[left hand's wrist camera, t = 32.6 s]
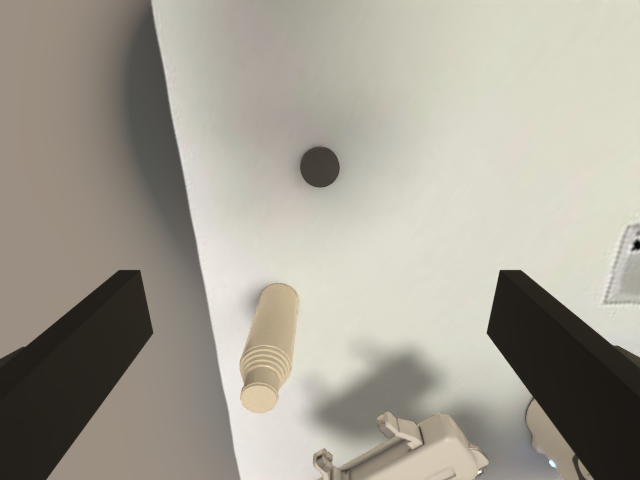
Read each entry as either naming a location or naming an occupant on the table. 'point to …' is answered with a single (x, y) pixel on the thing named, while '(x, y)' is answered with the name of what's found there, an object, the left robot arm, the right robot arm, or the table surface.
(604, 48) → the table surface
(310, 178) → the cap
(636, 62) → the table surface
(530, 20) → the table surface
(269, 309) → the bottle
